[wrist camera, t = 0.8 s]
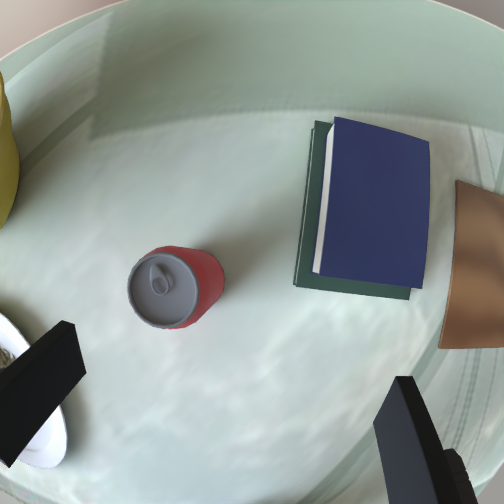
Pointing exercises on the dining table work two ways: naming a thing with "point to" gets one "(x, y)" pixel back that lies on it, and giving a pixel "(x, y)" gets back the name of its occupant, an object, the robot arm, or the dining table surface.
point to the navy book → (373, 206)
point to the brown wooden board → (476, 272)
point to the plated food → (54, 429)
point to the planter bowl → (7, 158)
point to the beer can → (174, 286)
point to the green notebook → (309, 230)
